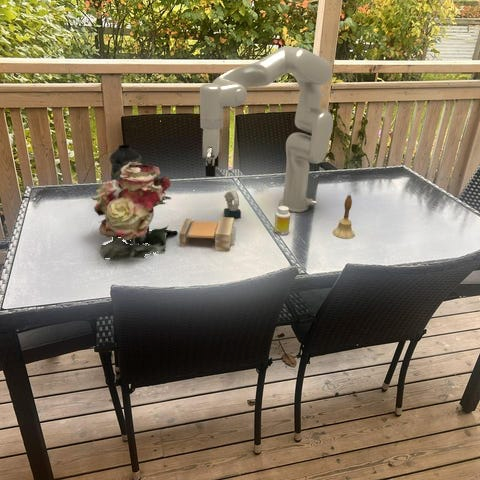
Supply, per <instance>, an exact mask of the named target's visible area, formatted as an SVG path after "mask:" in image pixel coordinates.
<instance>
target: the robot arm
mask: <svg viewBox="0 0 480 480" xmlns="http://www.w3.org/2000/svg"><path fill="white" fill-rule="evenodd" d="M286 74H292V75H293V77H294V79H295V80H296V82H297V84H298V87H299V96H298V102H297V106H296V111H295V117H294V125H295V127H296V128H297V129H300V130H302V131H304V132H307V133H310V134H311V135H308V134H306V133H303V132H293V133H291V134H290V135H289V136H288V137H287V139H286V142H285V152H286V153H285V154H286V166H285V175H284V176H285V177H284V185H283V196H282V199H280V200H279V203H278V207H279V206H286V207H288V208H289V213H301V212H303V213H304V212H305V211H308V209H309V206H310V205H311V206H316V205H317V200H314V198H308V197H307V192H308V181H309V176H310V175H309V174H310V163H311V164H316V165H317V164H319V163H322V161H323V160H324V159H325V158H326V156H327V153H328V149H329V145H330V141H331V136H332V133H333V128H334V119H333V115H332V113H331V112H329V111H328V110H326V109H323V108H321V101H322V97H323V96H322V95H323V90H322V89H323V88H322V86H324V85H326V84H328V82H329V81H330V80H331V79H332V76H333V67H332V65H331V63H330V62H329V61H328V60H326V59H325V58H323V57H321V56H319V55H317V54H316V53H314V52H312V51H310V50H307V49H306V48H301V47H295V46H289V45H286V46H282V47H279V48H277V49H276V50H274V51H273V52H271V53H269V54H268V55H266V56H264V57H263V58H261V59H260V60H258V61H255V62H252V63H248V64H245V65H242V66H239V67H235V68H232V69H231V70H228V71H226V72H225V73H223V74H221V75H220V76H217V77H216V79H213V81H212V82H211V83H204V84H201V86H200V88H199V113H200V114H199V115H200V123H199V124H200V128H201V129H202V158H203V159H205V177H210V178H211V177H212V178H215V176H216V168H217V167H219V153H220V142H221V141H220V139H221V138H220V136H221V134H220V130H222V129H223V128H224V107H233V108H234V107H238V106H242V105H243V104H244V103H245V102H246V100H247V98H248V92H247V89H246V88H259V87H266V86H269V85H271V84H272V83H274V82H275V81H277V80H278V79H280V78H282V77H284V76H285V75H286Z"/></svg>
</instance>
